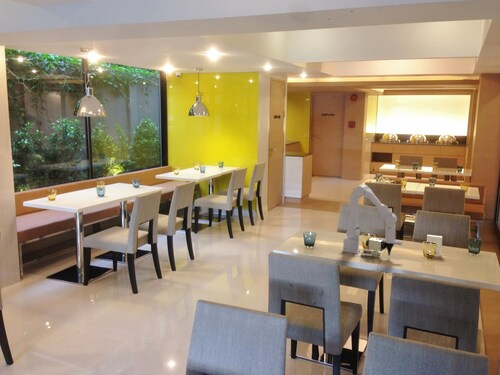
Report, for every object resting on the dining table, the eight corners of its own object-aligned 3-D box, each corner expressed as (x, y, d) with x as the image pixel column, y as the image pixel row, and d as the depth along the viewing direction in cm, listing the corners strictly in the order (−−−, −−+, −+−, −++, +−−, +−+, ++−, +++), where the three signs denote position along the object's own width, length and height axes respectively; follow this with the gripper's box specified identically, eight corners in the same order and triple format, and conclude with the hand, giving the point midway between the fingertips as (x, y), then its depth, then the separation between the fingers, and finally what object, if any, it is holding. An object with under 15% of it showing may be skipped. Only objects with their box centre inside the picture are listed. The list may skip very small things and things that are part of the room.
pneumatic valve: (383, 259, 276) (384, 240, 274) (365, 255, 283) (365, 237, 281) (386, 256, 280) (387, 238, 279) (368, 253, 287) (369, 235, 285)
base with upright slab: (441, 253, 290) (442, 235, 288) (440, 257, 282) (442, 238, 280) (426, 251, 294) (427, 233, 292) (425, 255, 286) (426, 236, 284)
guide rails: (360, 256, 280) (360, 254, 280) (363, 252, 290) (363, 249, 290) (373, 258, 277) (373, 256, 277) (376, 253, 287) (376, 251, 287)
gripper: (377, 233, 275) (376, 255, 277) (401, 236, 269) (400, 258, 272) (379, 231, 282) (377, 252, 284) (403, 233, 276) (401, 255, 278)
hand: (389, 255), depth 278 cm, fingers closed
